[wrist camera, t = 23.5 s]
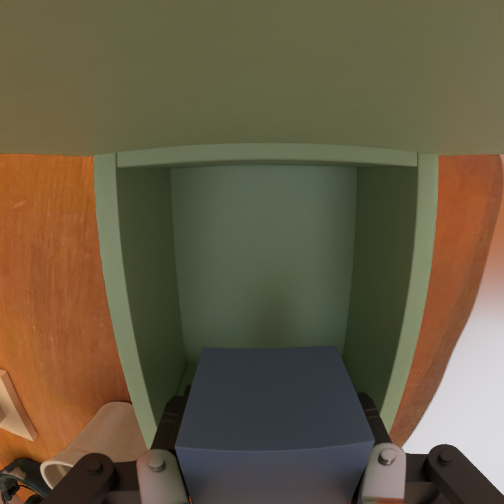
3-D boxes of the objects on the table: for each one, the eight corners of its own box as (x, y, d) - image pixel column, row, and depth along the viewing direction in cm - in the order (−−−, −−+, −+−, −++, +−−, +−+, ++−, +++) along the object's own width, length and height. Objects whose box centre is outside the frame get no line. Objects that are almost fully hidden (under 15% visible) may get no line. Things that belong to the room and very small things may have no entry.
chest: (349, 363, 20) (384, 445, 12) (178, 365, 20) (147, 449, 13) (366, 152, 17) (438, 144, 9) (159, 154, 17) (92, 145, 9)
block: (202, 346, 11) (173, 447, 6) (336, 344, 11) (375, 440, 6) (213, 435, 12) (199, 524, 8) (322, 433, 12) (340, 521, 8)
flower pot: (149, 469, 24) (128, 538, 15) (69, 413, 22) (28, 477, 14) (209, 434, 22) (195, 522, 14) (112, 364, 20) (61, 444, 12)
